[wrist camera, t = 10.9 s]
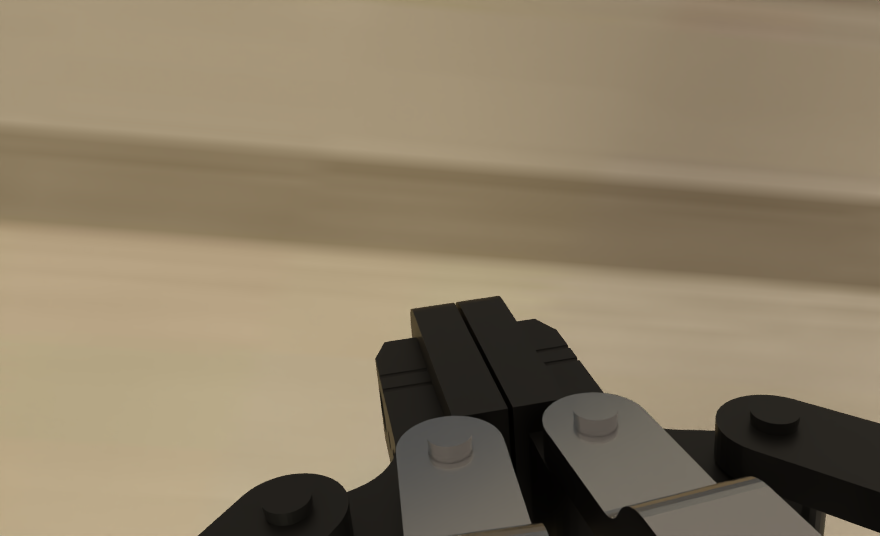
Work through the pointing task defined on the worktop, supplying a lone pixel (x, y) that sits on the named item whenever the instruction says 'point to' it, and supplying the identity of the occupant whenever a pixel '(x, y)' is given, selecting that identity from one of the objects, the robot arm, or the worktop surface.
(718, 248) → the worktop surface
